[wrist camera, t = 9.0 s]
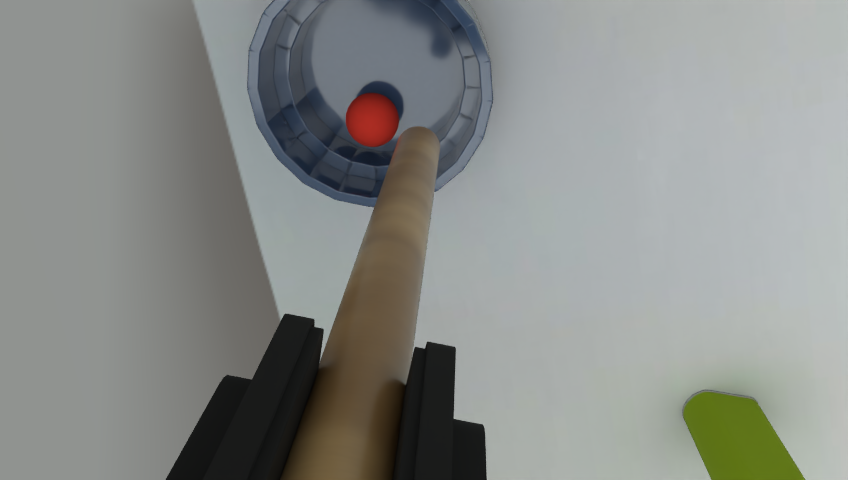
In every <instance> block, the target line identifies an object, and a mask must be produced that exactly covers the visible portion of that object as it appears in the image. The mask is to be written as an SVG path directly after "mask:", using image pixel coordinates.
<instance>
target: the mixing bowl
mask: <svg viewBox="0 0 848 480" xmlns="http://www.w3.org/2000/svg"><path fill="white" fill-rule="evenodd" d="M249 49H250V50H249V58H248V81H247V88H248V89H247V90H248V94H249V97H250V101H251V105H252V109H253V112H254V116H255V120H256V124H257V125H258V128H259V130H260V131H261V133H262V135H263V136H264V138H265V140H266V141H267V143H268V145H269V146H270V148H271V149H272V151H273V153H274V154H275V156H276V157H277V159H278V160H279V161H280V162H281V163H282V164H283V165H284V166H285V167H287V168H288V169H289V170H290V171H291V172H292V173H293V174H294V175H295V176H296V177H297V178H298V179H299V180H300V181H302V182H303V183H304V184H306V185H308V186H310V187H311V188H313V189H315V190H317V191H319V192H321V193H323V194H325V195H327V196H329V197H331V198H333V199H335V200H339V201H344V202H348V203H353V204H358V205H363V206H368V207H370V206H371V207H375V204H376V201H377V198H378V196H379V193H380V190H381V187H382V184H383V181H384V178H385V176H386V173H387V170H388V167H389V164H390V161H391V159H392V156H393V153H394V150H395V147H396V144H397V141H398V139H399V137H400V135H401V134H402V133H403V132H404V131H405V130H407V129H408V128H411V127H415V126H420V127H425V128H428V129H429V130H431V131H432V132H433V133H434V134H435V135H436V136H437V138H438V140H439V143H440V153H439V160H438V168H437V175H436V182H435V190H434V192H436V191H438V190H439V189H440V188H441V187H443V186H444V185H445V184H446V183H448V182H449V181H450V180H451V179H452V178H454V177H455V176H456V175H457V174H458V173H460V172H461V171H462V170H463V169H464V168H465V167H466V165H467V163H468V162H469V160H470V159H471V157H472V156H473V154H474V152H475V151H476V149H477V148H478V146H479V145H480V143H481V141H482V140H483V137H484V135H485V131H486V127H487V123H488V119H489V115H490V111H491V107H492V103H493V91H492V76H491V62H490V57H489V52H488V47H487V42H486V40H485V37H484V35H483V32H482V29H481V27H480V24H479V22H478V19H477V17H476V14H475V12H474V10H473V8H472V7H471V6H470V5H469V3H468V2H467V1H466V0H273V1H272V2H271V4H270V5H269V6H268V7H267V8H266V9H265V10H264V13H263V14H262V16H261V19H260V22H259V24H258V27H257V29H256V32H255V35H254V37H253V40H252V42H251V45H250V48H249ZM366 93H378V94H381V95H384V96H385V97H387V98H388V99H390V100H391V101H392V103H393V104H394V105H395V107H396V109H397V112H398V116H399V125H398V129H397V132H396V134H395V135H394V137H393V138H392V139H391V140H390V141H389V142H387V143H386V144H384V145H381V146H378V147H368V146H364V145H362V144H360V143H358V142H357V141H355V140H354V139H353V138H352V136H351V135H350V133H349V132H348V129H347V126H346V112H347V109H348V107H349V105H350V104H351V102H352V101H353V100H354V99H355V98H357V97H358V96H360V95H362V94H366Z"/></svg>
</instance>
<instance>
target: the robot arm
mask: <svg viewBox="0 0 848 480" xmlns="http://www.w3.org/2000/svg"><path fill="white" fill-rule="evenodd" d="M323 332H324V330H323V329H322V328H317V327H314V319H311V318H306V317H301V316H296V315H291V314H285V315H284V316H283V318H282V320H281V322H280V324H279V326H278V328H277V330H276V332H275V334H274V336H273V338H272V340H271V342H270V344H269V346H268V348H267V350H266V352H265V354H264V356H263V358H262V361H261V362H260V364H259V366H258V369H257V371H256V373H255V375H254V377H253V379H252V380H250V379H246V378H240V377H235V376H229V375H227V376H225V377H224V378H223V379H222V381H221V382H220V384H219V385H218V387H217V389H216V391H215V393H214V395H213V396H212V398H211V400H210V402H209V403H208V405H207V407H206V409H205V411H204V412H203V414H202V416H201V418H200V419H199V421H198V423H197V425H196V426H195V428H194V430H193V432H192V434H191V435H190V437H189V439H188V441H187V443H186V444H185V446H184V448H183V450H182V451H181V453H180V455H179V457H178V459H177V460H176V462H175V464H174V466H173V468H172V469H171V471H170V473H169V475H168V476H167V478H166V480H280V478H281V476H282V473H283V470H284V467H285V464H286V461H287V458H288V456H289V453H290V450H291V447H292V444H293V441H294V438H295V435H296V433H297V430H298V427H299V424H300V421H301V418H302V415H303V413H304V410H305V407H306V404H307V401H308V398H309V395H310V392H311V390H312V387H313V384H314V381H315V378H316V375H317V372H318V370H319V362H320V355H321V348H322V340H323ZM455 356H456V348H455V347H452V346H447V345H442V344H437V343H432V342H427V344H426V347H425V349H423V348H418V347H415V349H414V353H413V357H412V361H411V365H410V369H409V374H408V378H407V382H406V387H405V394H404V401H403V408H402V415H401V422H400V429H399V437H398V444H397V451H396V458H395V465H394V472H393V479H392V480H487V478H486V447H485V429H484V426H483V425H482V424H477V423H472V422H466V421H461V420H456V419H453V417H454V387H455Z"/></svg>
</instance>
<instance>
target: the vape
mask: <svg viewBox="0 0 848 480" xmlns="http://www.w3.org/2000/svg"><path fill="white" fill-rule="evenodd" d="M683 418H684V420H685V422H686V424H687V426H688V429H689V431H690V433H691V435H692V438H693V440H694V442H695V444H696V446H697V449H698V451H699V453H700V455H701V457H702V460H703V462H704V464H705V466H706V469H707V471H708V473H709V475H710V477H711V480H805V478H804V477H803V475H802V474H801V472H800V470H799V469H798V467H797V466H796V464H795V462H794V461H793V459H792V458H791V456H790V454H789V453H788V451H787V450H786V448H785V446H784V445H783V443H782V442H781V440H780V438H779V437H778V435H777V434H776V432H775V430H774V429H773V427H772V426H771V424H770V422H769V421H768V419H767V418H766V416H765V414H764V413H763V411H762V410H761V408H760V406H759V405H758V403H757V402H756V400H755V399H753V398H751V397H745V396H739V395H733V394H727V393H721V392H715V391H709V390H705V391H700V392H698V393H696V394H694V395H693V396H692V397H690V398H689V399H688V401H687V402H686V403H685V405H684V408H683Z"/></svg>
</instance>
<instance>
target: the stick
mask: <svg viewBox="0 0 848 480" xmlns="http://www.w3.org/2000/svg"><path fill="white" fill-rule="evenodd" d="M439 153H440V143H439V140H438V138H437V136H436V135H435V134H434V133H433V132H432V131H431V130H429V129H428V128H425V127H420V126H415V127H411V128H408V129H407V130H405V131H404V132H403V133H402V134H401V135H400V137H399V139H398V141H397V144H396V147H395V150H394V153H393V156H392V159H391V161H390V164H389V167H388V170H387V173H386V176H385V178H384V181H383V184H382V187H381V190H380V193H379V196H378V198H377V201H376V204H375V207H374V210H373V213H372V215H371V218H370V221H369V224H368V227H367V230H366V233H365V235H364V238H363V241H362V244H361V247H360V250H359V252H358V255H357V258H356V261H355V264H354V267H353V270H352V272H351V275H350V278H349V281H348V284H347V287H346V289H345V292H344V295H343V298H342V301H341V304H340V306H339V309H338V312H337V315H336V318H335V321H334V324H333V326H332V329H331V332H330V335H329V338H328V341H327V343H326V346H325V349H324V352H323V355H322V358H321V361H320V363H319V370H318V372H317V375H316V378H315V381H314V384H313V387H312V390H311V392H310V395H309V398H308V401H307V404H306V407H305V410H304V413H303V415H302V418H301V421H300V424H299V427H298V430H297V433H296V435H295V438H294V441H293V444H292V447H291V450H290V453H289V456H288V458H287V461H286V464H285V467H284V470H283V473H282V476H281V478H280V480H392V479H393V472H394V465H395V458H396V451H397V444H398V437H399V429H400V422H401V415H402V408H403V401H404V394H405V387H406V382H407V378H408V374H409V369H410V365H411V360H412V353H413V345H414V338H415V331H416V323H417V316H418V308H419V301H420V294H421V286H422V279H423V271H424V264H425V256H426V249H427V242H428V234H429V227H430V219H431V212H432V205H433V197H434V190H435V182H436V175H437V168H438V160H439Z"/></svg>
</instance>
